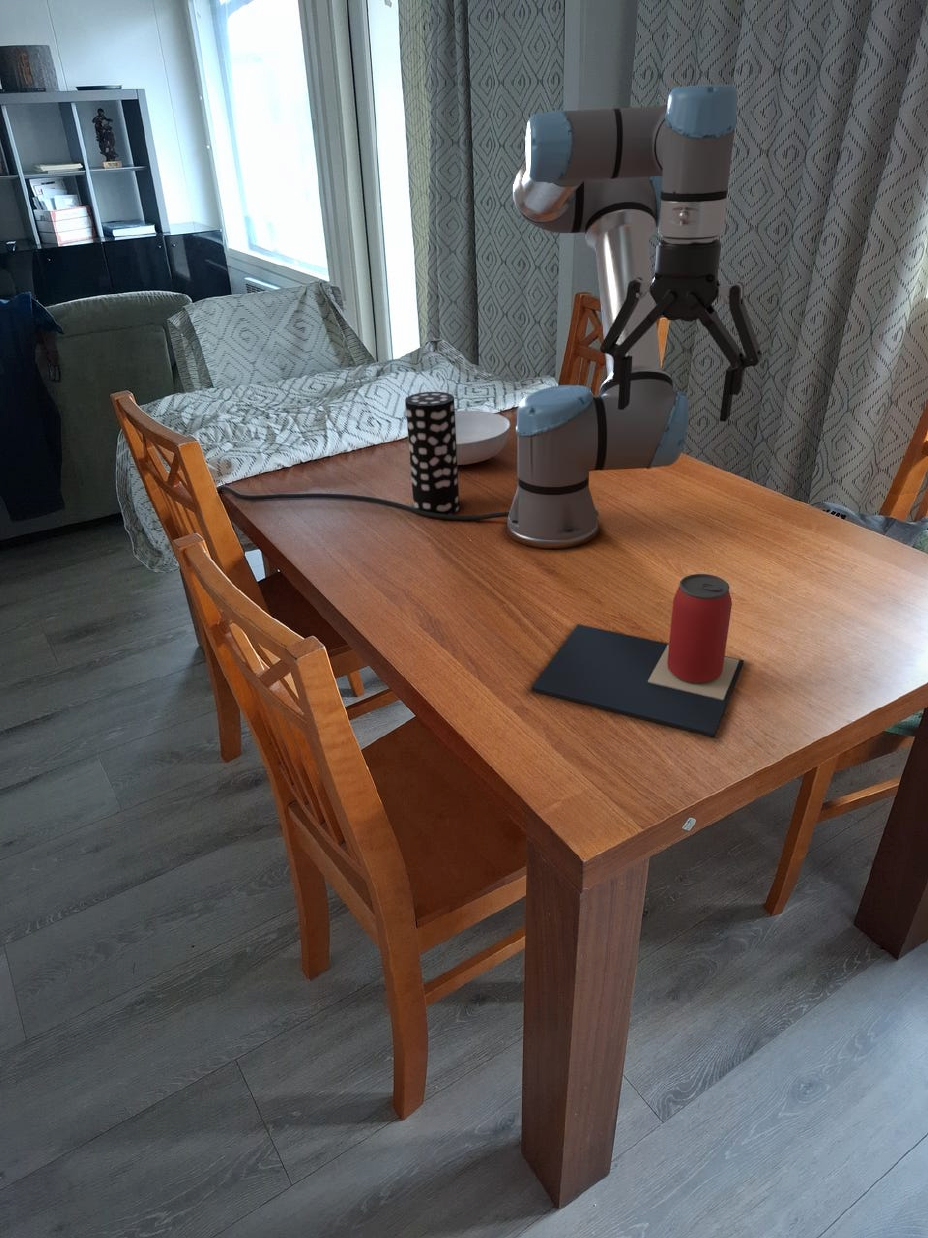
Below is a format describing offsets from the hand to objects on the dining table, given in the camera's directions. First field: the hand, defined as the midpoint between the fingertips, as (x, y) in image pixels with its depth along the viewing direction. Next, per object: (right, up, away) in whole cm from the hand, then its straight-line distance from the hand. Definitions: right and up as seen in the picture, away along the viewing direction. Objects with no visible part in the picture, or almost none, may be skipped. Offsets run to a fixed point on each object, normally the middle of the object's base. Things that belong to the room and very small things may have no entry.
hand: (672, 412), depth 110 cm
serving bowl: (-28, +6, +62) cm, 69 cm away
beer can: (0, -34, -9) cm, 35 cm away
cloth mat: (-6, -35, -8) cm, 36 cm away
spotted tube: (-33, -8, +40) cm, 52 cm away
